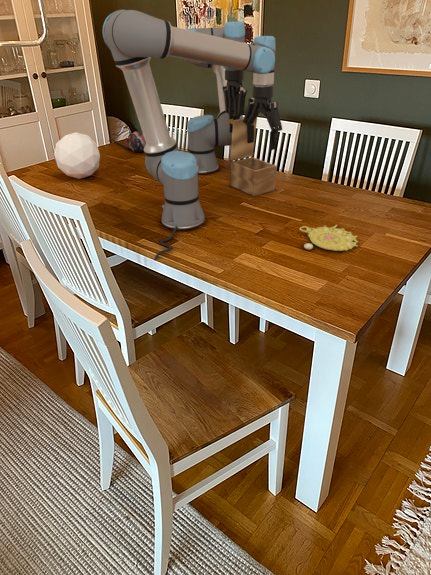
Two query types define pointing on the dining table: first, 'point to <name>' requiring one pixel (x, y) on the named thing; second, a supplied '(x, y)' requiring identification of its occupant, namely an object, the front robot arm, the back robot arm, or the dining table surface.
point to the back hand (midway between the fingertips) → (234, 132)
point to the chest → (253, 176)
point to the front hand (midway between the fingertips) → (261, 146)
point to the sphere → (77, 155)
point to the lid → (241, 140)
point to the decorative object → (330, 238)
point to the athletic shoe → (136, 142)
